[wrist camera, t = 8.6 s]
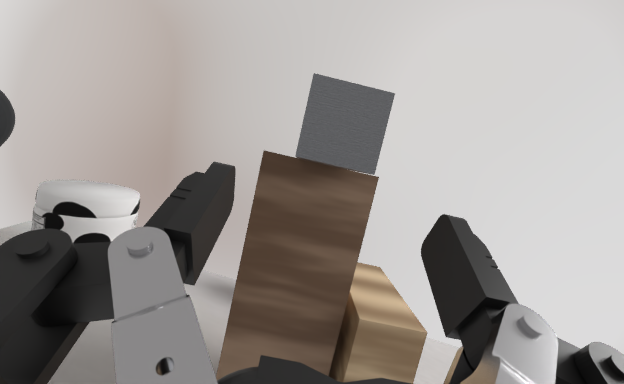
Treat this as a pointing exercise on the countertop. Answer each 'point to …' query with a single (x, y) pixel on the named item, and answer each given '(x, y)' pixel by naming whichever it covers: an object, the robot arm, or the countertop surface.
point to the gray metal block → (344, 124)
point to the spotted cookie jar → (85, 209)
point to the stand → (316, 280)
